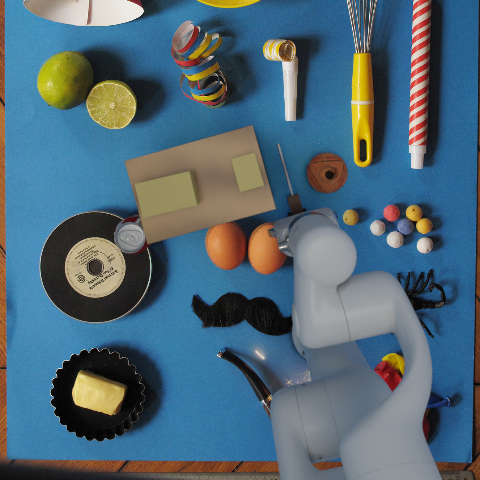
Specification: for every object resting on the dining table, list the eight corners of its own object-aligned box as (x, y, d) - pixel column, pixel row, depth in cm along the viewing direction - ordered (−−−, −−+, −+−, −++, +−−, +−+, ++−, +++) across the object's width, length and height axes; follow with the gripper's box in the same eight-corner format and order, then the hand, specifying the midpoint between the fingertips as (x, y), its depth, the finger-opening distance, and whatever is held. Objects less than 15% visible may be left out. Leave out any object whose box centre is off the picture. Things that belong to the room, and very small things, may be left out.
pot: (354, 178, 84) (356, 184, 78) (319, 195, 86) (318, 203, 80) (335, 143, 84) (335, 147, 78) (301, 161, 86) (298, 166, 80)
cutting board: (269, 195, 85) (276, 209, 62) (175, 221, 86) (147, 244, 63) (252, 133, 85) (252, 124, 62) (158, 160, 86) (124, 160, 63)
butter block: (200, 202, 62) (197, 205, 59) (148, 214, 63) (142, 218, 59) (192, 170, 62) (189, 170, 59) (141, 182, 63) (134, 183, 59)
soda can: (159, 246, 86) (144, 260, 74) (127, 239, 86) (107, 252, 74) (165, 213, 86) (152, 223, 74) (133, 207, 86) (114, 215, 74)
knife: (309, 237, 81) (311, 240, 78) (298, 240, 81) (300, 243, 78) (282, 142, 80) (284, 142, 77) (271, 145, 80) (272, 145, 77)
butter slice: (240, 191, 62) (263, 184, 62) (240, 192, 60) (264, 185, 60) (231, 158, 62) (254, 152, 62) (230, 158, 60) (254, 152, 60)
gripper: (266, 276, 62) (262, 247, 80) (372, 247, 61) (343, 225, 80) (253, 227, 62) (252, 209, 80) (358, 198, 61) (333, 187, 80)
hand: (298, 217), depth 80 cm, fingers closed on knife, 2 cm apart
